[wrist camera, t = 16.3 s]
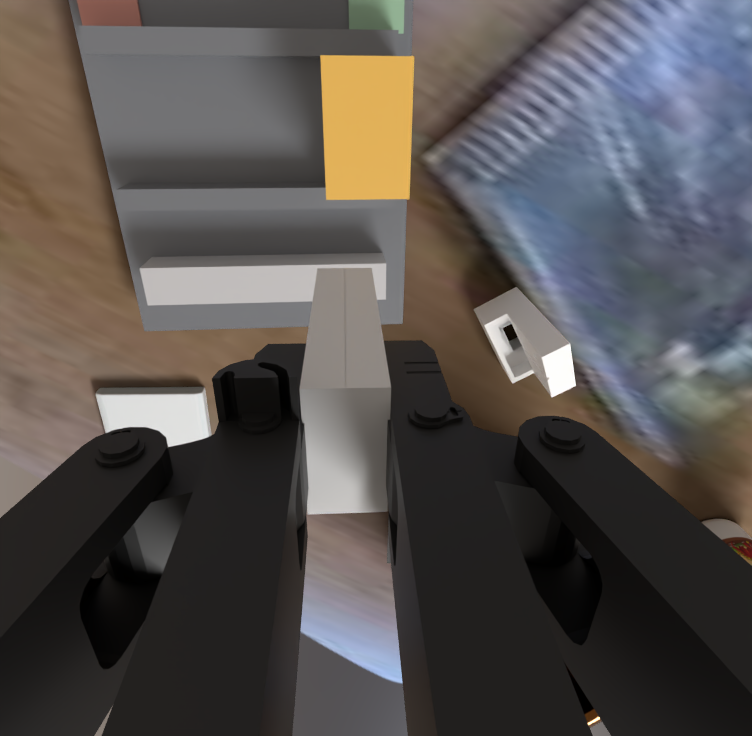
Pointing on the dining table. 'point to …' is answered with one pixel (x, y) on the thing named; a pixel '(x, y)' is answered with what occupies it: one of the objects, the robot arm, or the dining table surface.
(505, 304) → the white angled block
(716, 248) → the dining table surface
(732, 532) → the milk bottle
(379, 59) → the block
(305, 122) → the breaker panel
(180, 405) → the external hard drive
